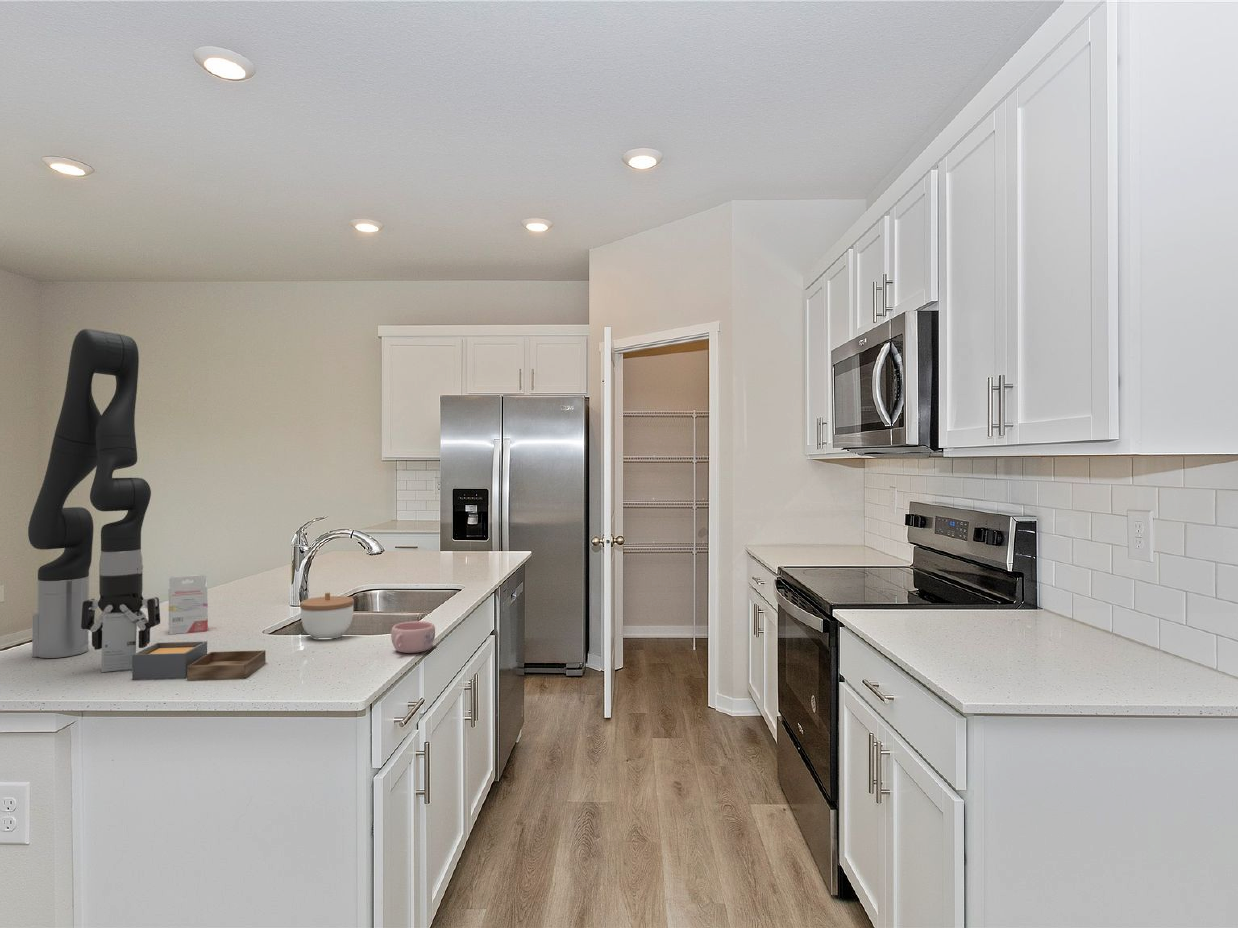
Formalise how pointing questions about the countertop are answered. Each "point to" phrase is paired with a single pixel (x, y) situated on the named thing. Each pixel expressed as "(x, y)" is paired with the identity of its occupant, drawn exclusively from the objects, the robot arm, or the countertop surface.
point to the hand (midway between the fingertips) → (121, 647)
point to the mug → (413, 636)
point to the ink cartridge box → (188, 605)
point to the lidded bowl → (326, 616)
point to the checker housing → (166, 661)
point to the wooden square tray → (226, 665)
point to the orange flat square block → (171, 650)
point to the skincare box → (117, 642)
